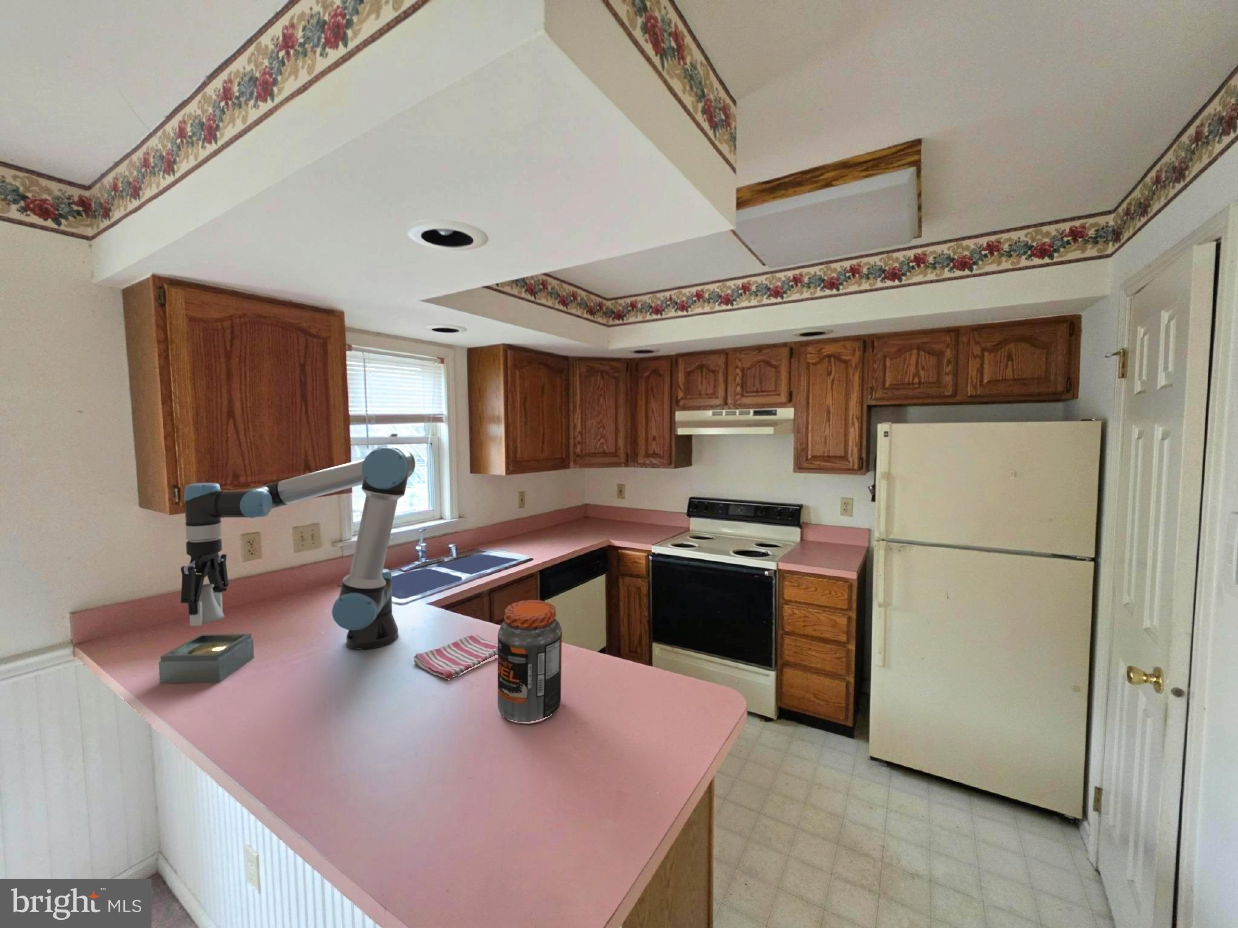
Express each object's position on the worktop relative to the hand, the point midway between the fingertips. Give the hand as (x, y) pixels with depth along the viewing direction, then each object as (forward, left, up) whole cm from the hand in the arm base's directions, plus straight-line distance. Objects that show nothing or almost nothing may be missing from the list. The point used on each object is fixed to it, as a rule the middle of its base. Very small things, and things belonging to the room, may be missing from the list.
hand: (206, 619), depth 137 cm
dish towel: (-69, -4, -15) cm, 71 cm away
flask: (0, 0, 0) cm, 0 cm away
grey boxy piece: (0, 0, -15) cm, 15 cm away
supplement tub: (-92, +23, -15) cm, 96 cm away
